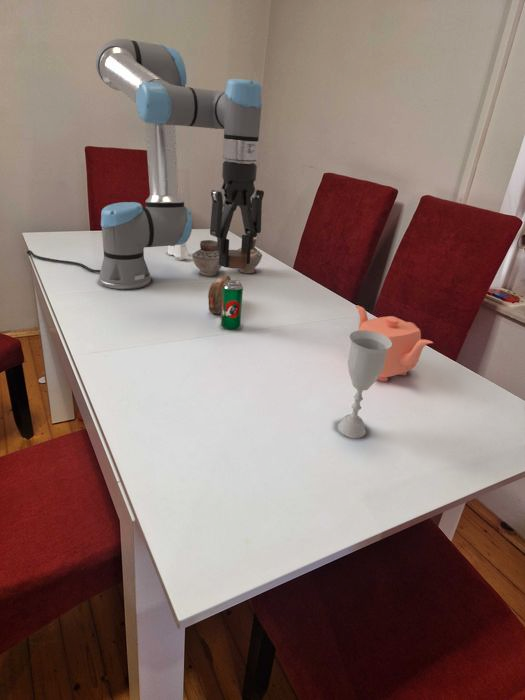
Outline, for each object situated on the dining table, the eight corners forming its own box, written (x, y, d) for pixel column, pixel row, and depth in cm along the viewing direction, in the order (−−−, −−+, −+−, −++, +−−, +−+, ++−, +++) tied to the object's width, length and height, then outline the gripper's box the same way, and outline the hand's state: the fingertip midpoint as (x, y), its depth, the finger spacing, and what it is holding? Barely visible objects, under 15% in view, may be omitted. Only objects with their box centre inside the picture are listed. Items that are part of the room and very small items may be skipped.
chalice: (328, 416, 85) (344, 329, 76) (364, 417, 85) (383, 331, 77) (338, 441, 78) (356, 349, 70) (375, 442, 79) (398, 350, 71)
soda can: (244, 327, 118) (247, 283, 112) (230, 332, 114) (232, 287, 109) (231, 321, 120) (233, 278, 115) (216, 326, 117) (218, 281, 112)
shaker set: (189, 261, 166) (189, 231, 161) (178, 262, 164) (178, 231, 159) (177, 252, 175) (177, 223, 170) (166, 253, 173) (166, 224, 168)
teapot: (419, 392, 95) (434, 338, 90) (340, 376, 99) (350, 323, 93) (416, 361, 108) (430, 312, 103) (347, 348, 112) (356, 300, 106)
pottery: (265, 275, 159) (269, 241, 154) (198, 279, 149) (198, 243, 143) (252, 265, 168) (255, 233, 163) (187, 269, 158) (188, 235, 152)
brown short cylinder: (217, 263, 110) (217, 251, 109) (236, 260, 114) (237, 248, 112) (231, 270, 106) (232, 257, 105) (251, 266, 110) (252, 254, 108)
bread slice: (217, 318, 121) (218, 288, 118) (205, 316, 122) (206, 287, 118) (231, 300, 135) (233, 272, 131) (221, 298, 135) (222, 271, 131)
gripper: (214, 162, 91) (211, 273, 101) (283, 164, 103) (273, 263, 113) (194, 158, 96) (192, 264, 106) (261, 160, 107) (254, 255, 118)
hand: (234, 263), depth 110 cm, fingers closed on brown short cylinder, 6 cm apart
